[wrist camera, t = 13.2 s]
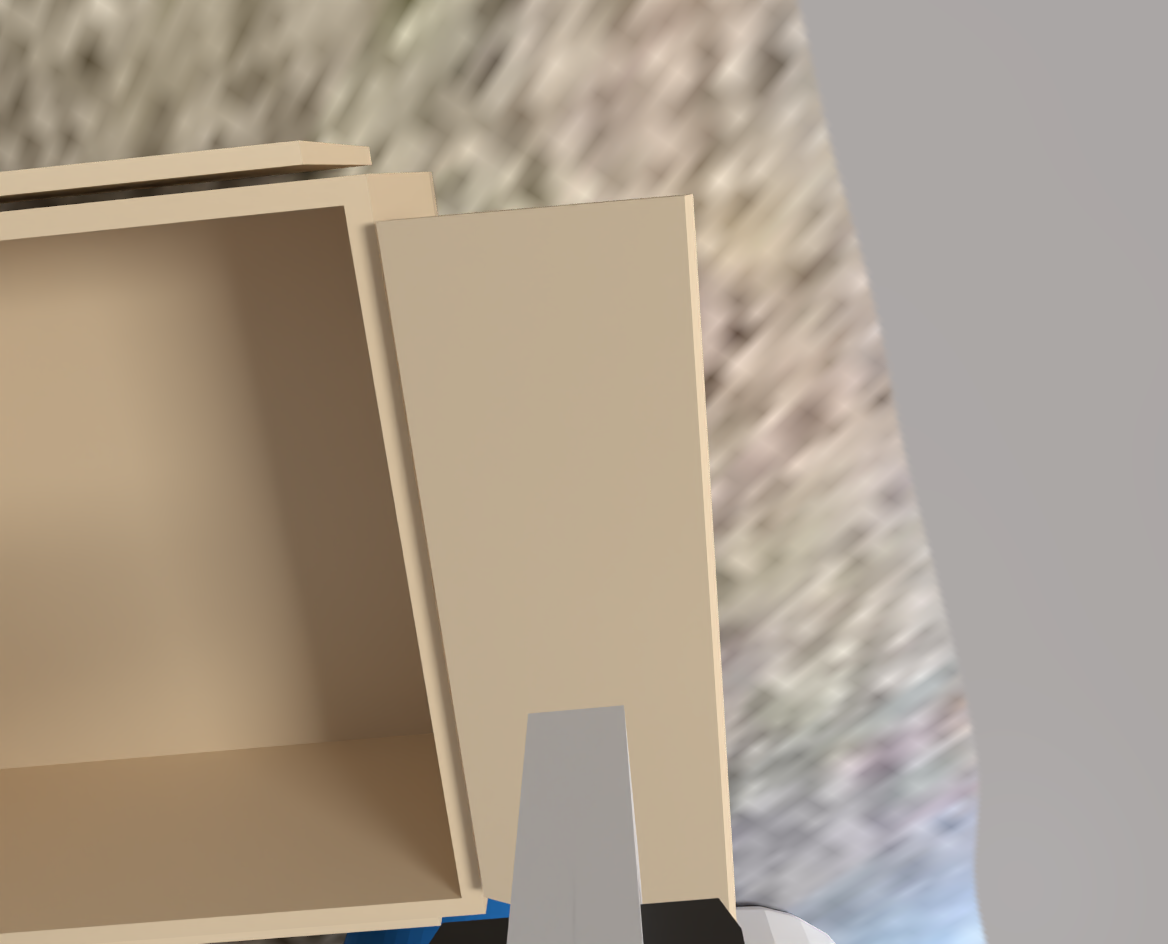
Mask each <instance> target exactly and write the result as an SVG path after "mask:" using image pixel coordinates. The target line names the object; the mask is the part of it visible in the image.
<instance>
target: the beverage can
mask: <svg viewBox="0 0 1168 944" xmlns="http://www.w3.org/2000/svg"><path fill="white" fill-rule="evenodd" d="M509 914H510V904H508V903H504V902H500V901H497V900H493V899H489V898H488V901H487V908H486V914H477V915H464V916H451V917H442V921H441V924H442V923H445V922H458V921H470V920H483V919H495V918H507V917H509ZM439 928H440V926H429V927H416V928H402V929H389V930H376V931H363V932H350V933H347V935H346V938H345V942H344V944H429V943H430V941H431V940H432V938H433V937H434V935H435V934H436V932H437V931H438V929H439Z"/></svg>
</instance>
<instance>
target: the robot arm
mask: <svg viewBox="0 0 1168 944" xmlns="http://www.w3.org/2000/svg"><path fill="white" fill-rule="evenodd" d="M429 944H745V942H744V938H743V933H742V929H741V927H740V926H739V925H738V923H737V922H736V920H735V919H734V918H733V916H732V915H731V914H730V912H729V911H728V910H727V908H726V907H725V906H724V904H723V903H722V902H721V900H720V899H719V898H711V899H699V900H686V901H674V902H662V903H649V904H642V893H641V880H640V868H639V856H638V844H637V834H636V824H635V813H634V803H633V793H632V783H631V772H630V762H629V752H628V742H627V731H626V721H625V711H624V705H621V706H610V707H598V708H587V709H575V710H564V711H552V712H540V713H529V714H528V721H527V731H526V742H525V753H524V764H523V774H522V785H521V796H520V807H519V817H518V828H517V839H516V849H515V860H514V871H513V882H512V892H511V903H510V914H509V917H507V918H495V919H483V920H470V921H458V922H445V923H442V924H441V926H440V928H439V929H438V931H437V932H436V934H435V935H434V937H433V938H432V940H431V941H430V943H429Z"/></svg>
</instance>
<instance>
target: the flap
mask: <svg viewBox="0 0 1168 944" xmlns="http://www.w3.org/2000/svg"><path fill="white" fill-rule="evenodd" d="M376 227H377V233H378V239H379V245H380V251H381V258H382V264H383V270H384V276H385V283H386V289H387V295H388V301H389V307H390V314H391V320H392V326H393V332H394V338H395V345H396V351H397V357H398V363H399V370H400V376H401V382H402V388H403V394H404V401H405V407H406V413H407V419H408V425H409V432H410V438H411V444H412V450H413V457H414V463H415V469H416V475H417V481H418V488H419V494H420V500H421V506H422V513H423V519H424V525H425V531H426V537H427V544H428V550H429V556H430V562H431V568H432V575H433V581H434V587H435V593H436V600H437V606H438V612H439V618H440V624H441V631H442V637H443V643H444V649H445V655H446V662H447V668H448V674H449V680H450V687H451V693H452V699H453V705H454V711H455V718H456V724H457V730H458V736H459V743H460V749H461V755H462V761H463V767H464V774H465V780H466V786H467V792H468V798H469V805H470V811H471V817H472V823H473V830H474V836H475V842H476V848H477V854H478V861H479V867H480V873H481V879H482V885H483V892H484V897H486V898H489V899H493V900H497V901H500V902H504V903H508V904H510V903H511V892H512V882H513V871H514V860H515V849H516V839H517V828H518V817H519V807H520V796H521V785H522V774H523V764H524V753H525V742H526V731H527V721H528V714H529V713H540V712H552V711H564V710H575V709H587V708H598V707H610V706H621V705H624V711H625V721H626V731H627V742H628V752H629V762H630V772H631V783H632V793H633V803H634V813H635V824H636V834H637V844H638V856H639V868H640V880H641V893H642V904H649V903H662V902H674V901H686V900H699V899H711V898H719V899H720V900H721V902H722V903H723V904H724V906H725V907H726V908H727V910H728V911H729V912H730V914H731V915H732V916H733V918H734V919H735V920H736V922H737V919H736V902H735V886H734V869H733V852H732V836H731V819H730V802H729V786H728V769H727V752H726V736H725V719H724V702H723V685H722V669H721V652H720V635H719V619H718V602H717V585H716V569H715V552H714V535H713V519H712V502H711V485H710V469H709V452H708V435H707V419H706V402H705V385H704V368H703V352H702V335H701V318H700V302H699V285H698V268H697V252H696V235H695V218H694V202H693V194H687V195H675V196H663V197H652V198H640V199H628V200H616V201H605V202H593V203H581V204H569V205H558V206H546V207H534V208H522V209H511V210H499V211H487V212H475V213H464V214H452V215H440V216H428V217H417V218H405V219H393V220H385V221H379V222H376Z"/></svg>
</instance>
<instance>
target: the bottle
mask: <svg viewBox="0 0 1168 944" xmlns="http://www.w3.org/2000/svg"><path fill="white" fill-rule="evenodd" d="M736 919H737V923H738V925H739V926H740V927H741V929H742V933H743V938H744V942H745V944H836V943H835V942H834V941H833V940H832V939H831V938H830V937H829V935H828V934H826V933H825V932H823V931H821V930H819V929H818V928H816V927H814V926H812V925H811V924H809V923H807V922H805V921H804V920H802V919H800V918H798V917H796V916H794V915H792V914H790V913H786V912H782V911H778V910H774V909H769V908H765V907H761V906H745V907H736Z"/></svg>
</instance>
